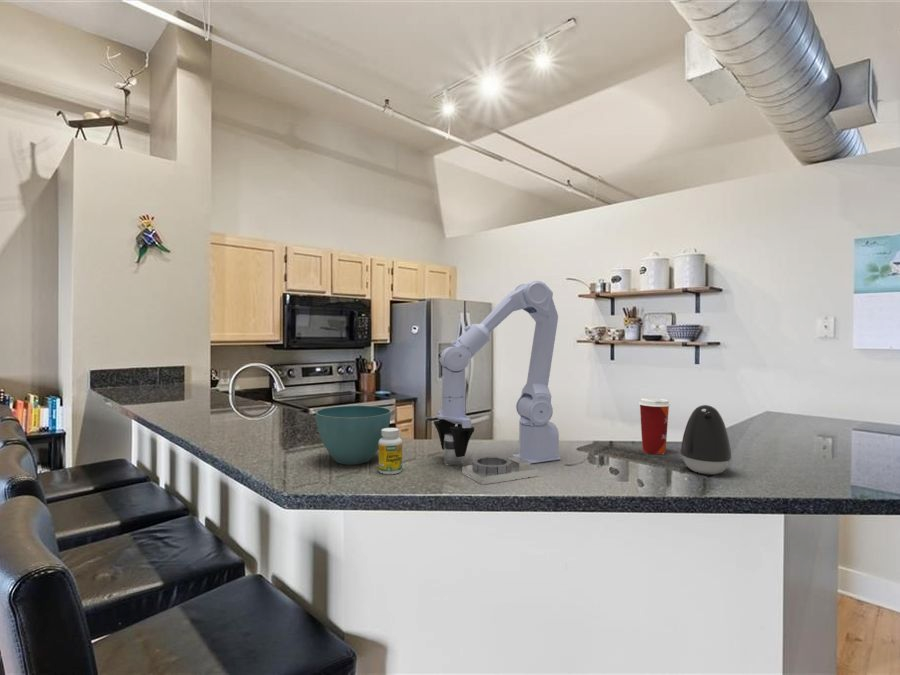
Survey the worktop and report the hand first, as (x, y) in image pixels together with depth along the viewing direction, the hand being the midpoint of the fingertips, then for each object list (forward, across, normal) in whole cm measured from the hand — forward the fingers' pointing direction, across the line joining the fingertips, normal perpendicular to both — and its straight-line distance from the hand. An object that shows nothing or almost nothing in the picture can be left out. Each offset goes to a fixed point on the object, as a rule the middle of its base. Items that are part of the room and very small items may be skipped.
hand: (453, 452), depth 117 cm
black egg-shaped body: (+2, +31, +49) cm, 58 cm away
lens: (+3, 0, 0) cm, 3 cm away
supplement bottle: (+3, 0, -16) cm, 16 cm away
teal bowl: (+3, -13, -21) cm, 25 cm away
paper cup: (+2, +13, +53) cm, 55 cm away
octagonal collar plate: (+2, +13, +5) cm, 14 cm away
